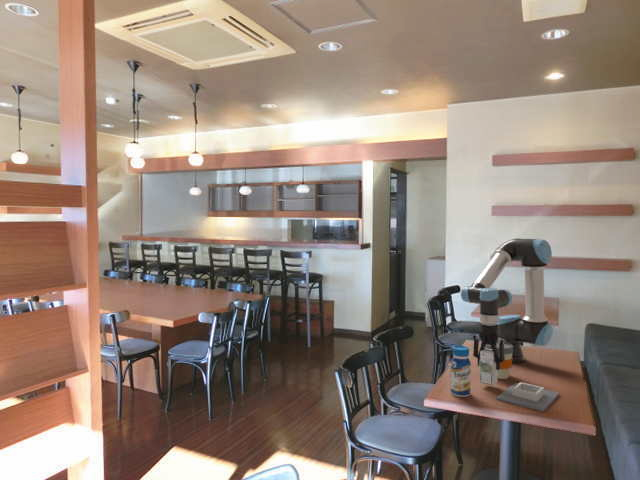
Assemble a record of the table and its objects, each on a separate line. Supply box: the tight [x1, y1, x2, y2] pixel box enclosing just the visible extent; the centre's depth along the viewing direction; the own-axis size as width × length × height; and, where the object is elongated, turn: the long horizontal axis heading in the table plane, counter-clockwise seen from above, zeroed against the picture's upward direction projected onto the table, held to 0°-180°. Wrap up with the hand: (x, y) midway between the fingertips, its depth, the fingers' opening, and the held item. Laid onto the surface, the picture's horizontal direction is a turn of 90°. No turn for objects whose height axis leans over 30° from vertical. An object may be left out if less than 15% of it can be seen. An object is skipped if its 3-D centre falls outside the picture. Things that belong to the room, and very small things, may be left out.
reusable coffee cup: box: [485, 341, 513, 380], centre depth 213 cm, size 13×12×15 cm
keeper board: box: [496, 381, 560, 413], centre depth 188 cm, size 22×18×4 cm
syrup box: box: [479, 348, 498, 386], centre depth 199 cm, size 6×6×14 cm
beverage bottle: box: [449, 345, 472, 398], centre depth 192 cm, size 8×8×20 cm
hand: (488, 374), depth 199 cm, fingers closed on syrup box, 6 cm apart
